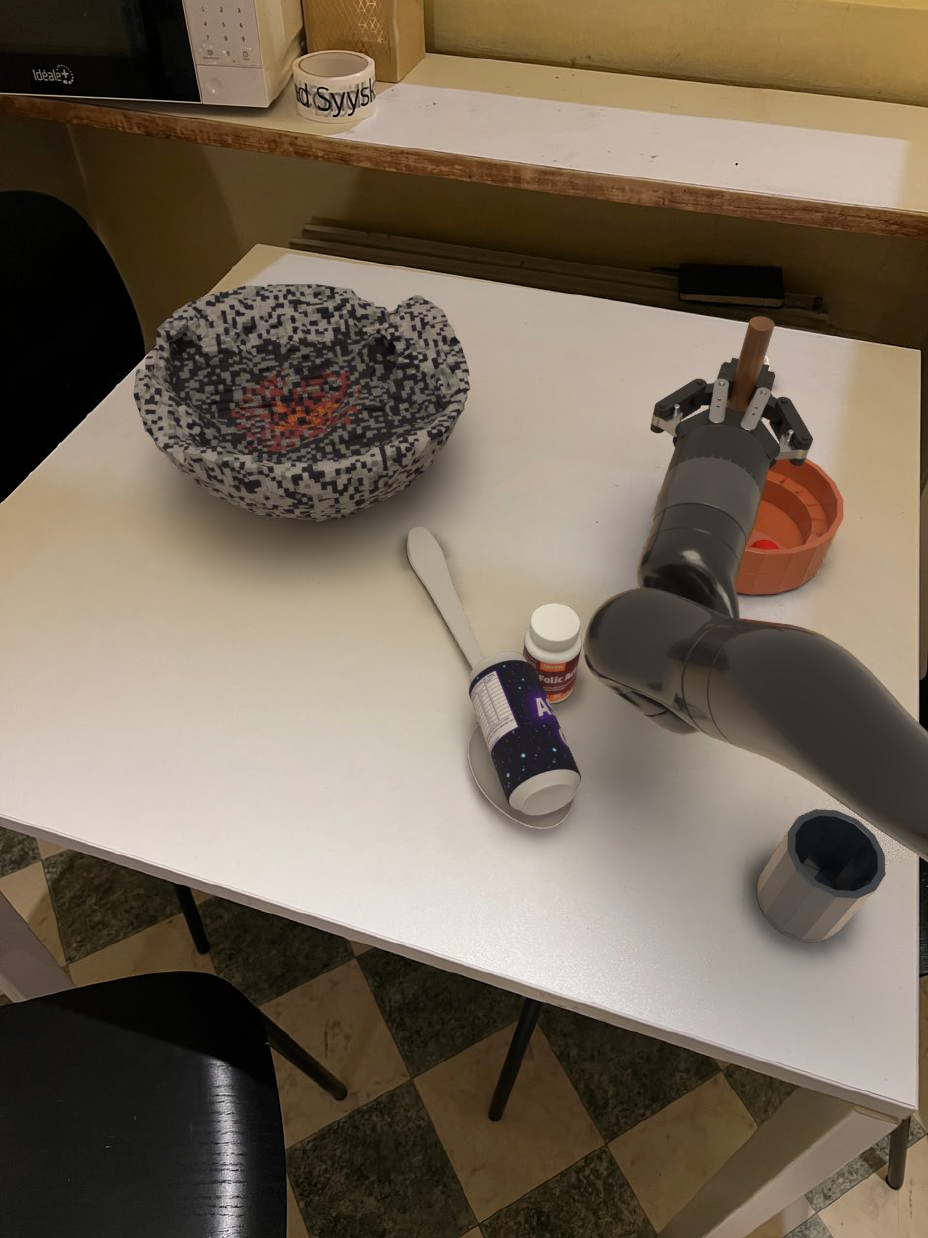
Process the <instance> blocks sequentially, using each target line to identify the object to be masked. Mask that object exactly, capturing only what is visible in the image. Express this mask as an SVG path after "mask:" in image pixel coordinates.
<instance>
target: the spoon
mask: <svg viewBox="0 0 928 1238" xmlns="http://www.w3.org/2000/svg"><path fill="white" fill-rule="evenodd" d="M406 554H407V558H408V562H409V564H410V566H411V567H412V569H413V571H414V572H415V574H416V575H417V577H418V578H419V579H420V581H421V583H423V586H424V587H425V589H426V590H427V592H428V593H429V595H430V597H431V599H432V600H433V602H434V604H435V605H436V607H437V609H438V611H439V613H440V615H441V616H442V618H443V620H444V621H445V623H446V625H447V627H448V628H449V630H450V633H451V634H452V636H453V638H454V639H455V641H456V643H457V645H458V646H459V648H460V650H461V652H462V653H463V655H464V657H465V658H466V660H467V662H468V664H469V665H470V667H471V669H473V668H474V667H475V666H476V665H477V664H478V663H479V662H480V661H482V660H483V659H484V657H483V655H482V652H481V649H480V647H479V645H478V643H477V640H476V637H475V636H474V635H475V634H474V632H473V630H472V628H471V625H470V623H469V620H468V618H467V615H466V613H465V611H464V608H463V605H462V603H461V600H460V598H459V596H458V593H457V591H456V588H455V585H454V583H453V580H452V577H451V574H450V570H449V565H448V563H447V559H446V556H445V553H444V551H443V549H442V547H441V545H440V544H439V542H438V541H437V539H436V538H435V536H434V535H433V534H432V532H431V531H430V530H429V529H428V528H426V527H424V526H414V527H412V528H411V529H410V530H409V532H408V534H407V537H406ZM467 758H468V763H469V768H470V770H471V773H472V776H473V778H474V781H475V783H476V785H477V787H478V789H479V790H480V792H481V793H483V795H484V797H486V799H487V800H488V801H489V802H490V803H491V804H492V805H493V806H494V807H495V808H496V809H498V810H499V812H501V813H503V814H504V815H505V816H506V817H508V818H510V819H511V820H513V821H514V822H516V823H518V824H520V825H522V826H525V827H527V828H529V829H530V828H531V829H534V830H548V829H552V828H555V827H557V826H559V825H560V824H562V823H563V822H564V821H565V819H567V818H568V816H569V814H570V812H571V810H572V808H573V805H574V803H575V797H576V795H575V796H574V797H573V799H572V800H571V801H570V802H569V803H567V804H566V805H565V806H563V807H561V808H560V809H558V810H555V811H553V812H550V813H547V814H543V815H527V814H525V813H523V812H522V811H520V810H517V809H514V808H512V807H511V806H510V805H509V804H508V802H507V800H506V797H505V794H504V791H503V788H502V786H501V783H500V780H499V777H498V774H497V772H496V769H495V766H494V763H493V760H492V758H491V755H490V752H489V749H488V746H487V744H486V741H485V738H484V735H483V732H482V730H481V727H480V724H479V721H478V723H477V724H476V726H475V727H474V729H473V730H472V732H471V734H470V737H469V739H468V743H467Z"/></svg>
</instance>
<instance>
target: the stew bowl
mask: <svg viewBox="0 0 928 1238" xmlns="http://www.w3.org/2000/svg"><path fill="white" fill-rule="evenodd" d="M843 521H844V499H843V496H842V493H840V490H839V488H838V486H837V484H836V482H835V480H833V478H831V476H830V475H829V474H828V473H827V472H825V470H824V469H823V468H822V467H821V466H819V465H818V464H817V463H815V462H814V461H812V460H811V459H809V458H807V457H806V460H805V462H804V464H803V465H802V466H795V465H793V464H791V463H790V461H789V460H788V459H785V460H777V462H776V464H775V465H774V467H772V468H771V469H769V470H768V474H767V478H766V482H765V486H764V490H763V494H762V498H761V502H760V506H759V510H758V514H757V519H756V523H755V526H754V529H753V532H752V534H751V537H750V539H749V541H748V543H747V545H746V548H745V552H744V556H743V560H742V564H741V568H740V572H739V575H738V579H737V582H736V591H737V593H740V594H745V595H750V596H751V595H776V594H779V593H783V592H786V591H790V590H793V589H796V588H799V587H801V586H802V585H804V584H805V583H807V582H808V581H809V580H811V579H812V578H813V577H814V576H817V574H818V572H819V570H820V568H821V567H822V565H823V563H824V561H825V559H826V557H827V555H828V553H829V551H830V550H831V549H830V548H831V546H832V545H833V542H834V540H835V538H836V536H837V533H838V532H839V530H840V527H841V525H842V523H843ZM758 540H770V541H772V542H774V543H775V544H776V545H777V546H778V548H779V549H766V550H764V549H758V548H753V547H750V546H751V545H752V544H753V543H754V542H756V541H758Z"/></svg>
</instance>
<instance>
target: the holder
mask: <svg viewBox="0 0 928 1238" xmlns="http://www.w3.org/2000/svg"><path fill="white" fill-rule="evenodd" d="M885 876H886V855H885V852H884V850H883V848H882V846H881V843H880V842H879V841H878V838H877V837H876V835H875V834H874V833H873V832H872V831H871V830H870V829H869V828H868V827H866V825H864V824H863V823H862V822H861V821H860V820H859V819H858V818H856V817H854V816H851V815H849V814H846V813H844V812H841V811H839V810H836V809H820V808H818V809H817V808H816V809H813V810H810V811H807V812H806V813H803V814H801V815H798V816H797V817H796V819H795V820H794V822H793V823H792V824H791V826H790V827H789V829H788V830H787V831H786V833H785V835H784V836H783V838H782V839H781V841H780V843H779V844H778V846H777V848H776V850H775V851H774V852H773V854H772V856H771V857H770V859H769V860H768V862H767V863H766V865H765V867H764V868H763V870H762V871H761V873H760V874H759V877H758V880H757V885H756V898H757V902H758V905H759V907H760V910H761V912H762V914H763V916H764V917H765V918H766V920H767V921H768V922H769V923H770V925H772V927H774V929H775V930H777V931H778V932H780V933H781V934H783V935H784V936H786V937H788V938H790V939H793V940H796V941H799V942H804V943H818V942H823V941H825V940H828V939H830V938H831V937H833V936H834V935H836V934H837V933H839V931H840V930H841V929H843V927H844V926H845V925H846V924H847V923H848V922H849V921H850V920H851V919H852V917H853V916H855V914H856V913H857V912H858V911H859V910H860V909H861V907H863V906H864V904H865V903H866V902H867V901H868V900H869V898H871V896H872V895H873V894H875V892H876V891H877V890H878V888H879V886H880V885H881V883H882V881H883V880H884V878H885Z"/></svg>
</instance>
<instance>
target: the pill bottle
mask: <svg viewBox="0 0 928 1238" xmlns="http://www.w3.org/2000/svg"><path fill="white" fill-rule="evenodd" d="M580 631H581V619H580V617H579V615H578V613H577V612H576V611H575V610H574V609H572V608H571V607H569V606H567V605H565V604H562V603H553V602H551V603H546V604H543V605H540V606H538V607H537V608H536V609H535V610H534V611H533V613H532V614H531V617H530V621H529V626H528V627H527V629H526V631H525V634H524V638H523V650H522V656H524V657H525V659H526V660H527V662H528V663H530V664H531V665H532V666H533V667H534V668H535V669H536V671H537V674H538V676H539V678H540V681H541V683H542V685H543V688H544V690H545V692H546V695H547V697H548V699H549V702H550V704H556V703H560V702H562V701H564V700H566V699H568V697H569V696H570V695H572V693H573V691H574V688H575V685H576V679H577V673H578V668H579V664H580V663H579V662H580V656H581V653H582V652H581V651H582V648H583V639H582V636H581V633H580Z"/></svg>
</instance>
